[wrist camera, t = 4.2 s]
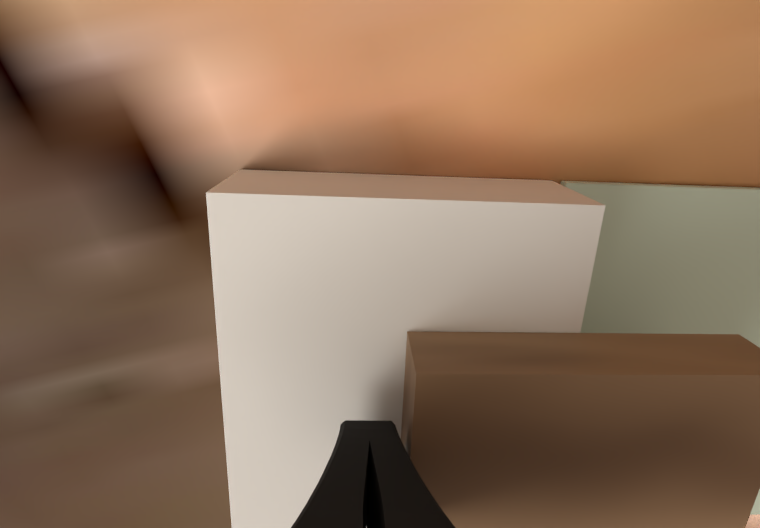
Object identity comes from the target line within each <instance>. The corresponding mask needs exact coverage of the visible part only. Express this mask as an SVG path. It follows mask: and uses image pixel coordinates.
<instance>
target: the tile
mask: <svg viewBox="0 0 760 528" xmlns="http://www.w3.org/2000/svg"><path fill="white" fill-rule="evenodd" d="M401 441H402V443H403V445H404V447H405V449H406V451H407V453H408V455H409V457H410V459H411V461H412V463H413V465H414V466H415V468H416V470H417V472H418V473H419V475H420V477H421V478H422V480H423V482H424V483H425V485H426V487H427V488H428V490H429V491H430V493H431V494H432V496H433V497H434V499H435V500H436V502H437V503H438V505H439V506H440V508H441V509H442V510H443V512H444V513H445V515H446V516H447V517H448V519H449V520H450V521H451V522H452V524H453V525H454V526H455V527H456V528H745V526H746V524H747V521H748V518H749V516H750V513H751V510H752V508H753V505H754V503H755V500H756V497H757V495H758V492H759V489H760V348H759V347H758V346H756V345H755V344H753V343H752V342H750V341H749V340H747V339H745V338H744V337H742V336H741V335H739V334H643V333H528V332H414V331H407V343H406V360H405V376H404V393H403V410H402V426H401Z"/></svg>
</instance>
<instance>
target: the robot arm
mask: <svg viewBox="0 0 760 528" xmlns="http://www.w3.org/2000/svg"><path fill="white" fill-rule="evenodd" d="M366 527H367V528H456V527H455V526H454V525H453V524H452V522H451V521H450V520H449V519H448V517H447V516H446V515H445V513H444V512H443V510H442V509H441V508H440V506H439V505H438V503H437V502H436V500H435V499H434V497H433V496H432V494H431V493H430V491H429V490H428V488H427V487H426V485H425V483H424V482H423V480H422V478H421V477H420V475H419V473H418V472H417V470H416V468H415V466H414V465H413V463H412V461H411V459H410V457H409V455H408V453H407V451H406V449H405V447H404V445H403V443H402V441H401V439H400V436H399V434H398V431H397V429H396V425H395V424H394V423H393V422H392V421H365V420H345V421H344V422H343V423H341V425H340V431H339V435H338V438H337V441H336V444H335V447H334V449H333V452H332V454H331V457H330V459H329V461H328V463H327V465H326V467H325V470H324V472H323V474H322V476H321V478H320V480H319V482H318V484H317V486H316V487H315V489H314V491H313V493H312V494H311V496H310V498H309V500H308V502H307V503H306V505H305V507H304V508H303V510H302V512H301V513H300V515H299V516H298V518H297V519H296V521H295V522H294V524H293V525H292V527H291V528H366Z"/></svg>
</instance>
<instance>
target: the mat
mask: <svg viewBox="0 0 760 528" xmlns="http://www.w3.org/2000/svg"><path fill="white" fill-rule="evenodd" d="M560 185H563V186H565V187H567V188H569V189H571V190H573V191H576V192H578V193H580V194H582V195H584V196H586V197H588V198H591V199H593V200H595V201H597V202H599V203H601V204H603V205H606V206H605V211H604V216H603V221H602V226H601V231H600V236H599V241H598V246H597V251H596V256H595V261H594V266H593V271H592V276H591V281H590V286H589V291H588V296H587V301H586V306H585V312H584V317H583V322H582V327H581V332H580V333H643V334H739V335H741V336H742V337H744V338H745V339H747V340H749V341H750V342H752V343H753V344H755V345H756V346H758V347H759V348H760V188H755V187H726V186H698V185H669V184H641V183H612V182H584V181H561V184H560ZM750 514H760V489H759V492H758V495H757V497H756V500H755V503H754V505H753V508H752V510H751V513H750Z"/></svg>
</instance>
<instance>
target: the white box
mask: <svg viewBox="0 0 760 528" xmlns="http://www.w3.org/2000/svg"><path fill="white" fill-rule="evenodd" d="M206 199H207V212H208V225H209V238H210V251H211V264H212V277H213V290H214V303H215V316H216V329H217V342H218V355H219V368H220V381H221V394H222V407H223V420H224V433H225V446H226V459H227V472H228V485H229V498H230V511H231V524H232V528H291V527H292V525H293V524H294V522H295V521H296V519H297V518H298V516H299V515H300V513H301V512H302V510H303V508H304V507H305V505H306V503H307V502H308V500H309V498H310V496H311V494H312V493H313V491H314V489H315V487H316V486H317V484H318V482H319V480H320V478H321V476H322V474H323V472H324V470H325V467H326V465H327V463H328V461H329V459H330V457H331V454H332V452H333V449H334V447H335V444H336V441H337V438H338V435H339V431H340V425H341V423H343V422H344V421H345V420H365V421H392V422H393V423H394V424H395V425H396V429H397V431H398V434H399V436H400V439H401V426H402V410H403V393H404V376H405V360H406V343H407V331H414V332H528V333H580V332H581V327H582V322H583V317H584V312H585V306H586V301H587V296H588V291H589V286H590V281H591V276H592V271H593V266H594V261H595V256H596V251H597V246H598V241H599V236H600V231H601V226H602V221H603V216H604V211H605V206H606V205H603V204H601V203H599V202H597V201H595V200H593V199H591V198H588V197H586V196H584V195H582V194H580V193H578V192H576V191H573V190H571V189H569V188H567V187H565V186H563V185H560V184H558V183H556V182H554V181H552V180H527V179H499V178H470V177H442V176H413V175H385V174H356V173H328V172H299V171H271V170H242V169H240V170H239V171H237V172H236V173H234V174H233V175H231V176H230V177H228V178H227V179H225V180H224V181H222V182H221V183H219V184H218V185H216V186H215V187H213V188H212V189H210V190H209V191H207V192H206ZM366 528H367V527H366Z"/></svg>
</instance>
